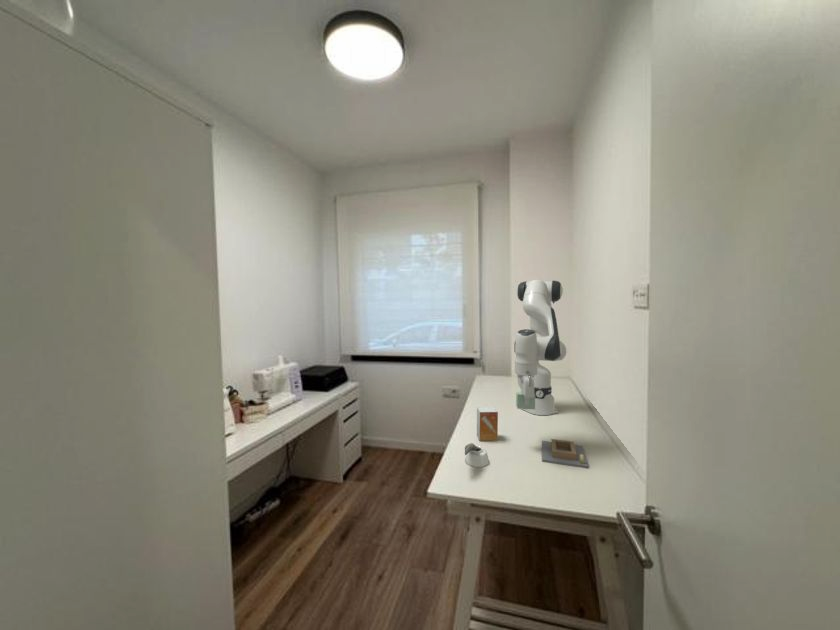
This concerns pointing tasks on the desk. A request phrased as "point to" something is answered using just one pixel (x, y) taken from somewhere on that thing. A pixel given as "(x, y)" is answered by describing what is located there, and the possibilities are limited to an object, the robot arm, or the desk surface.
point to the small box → (487, 424)
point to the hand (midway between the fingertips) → (525, 402)
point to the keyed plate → (563, 453)
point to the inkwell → (476, 456)
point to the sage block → (520, 401)
